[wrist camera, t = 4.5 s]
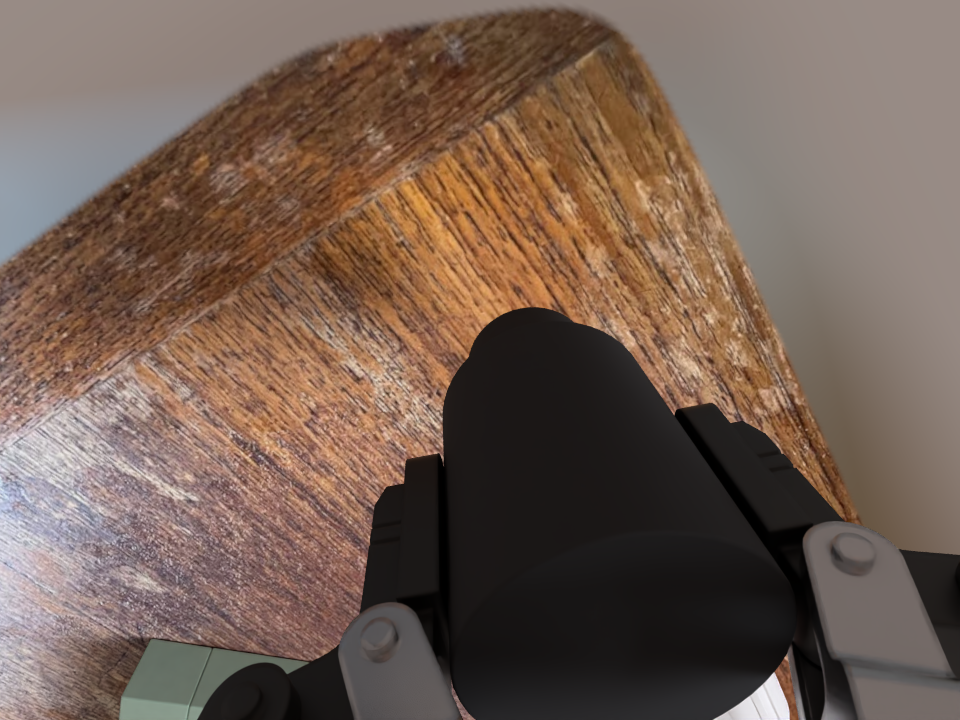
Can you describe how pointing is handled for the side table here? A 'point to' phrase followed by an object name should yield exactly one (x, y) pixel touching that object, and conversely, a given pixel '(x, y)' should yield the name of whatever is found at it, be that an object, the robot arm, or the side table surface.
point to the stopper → (593, 541)
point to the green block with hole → (183, 679)
